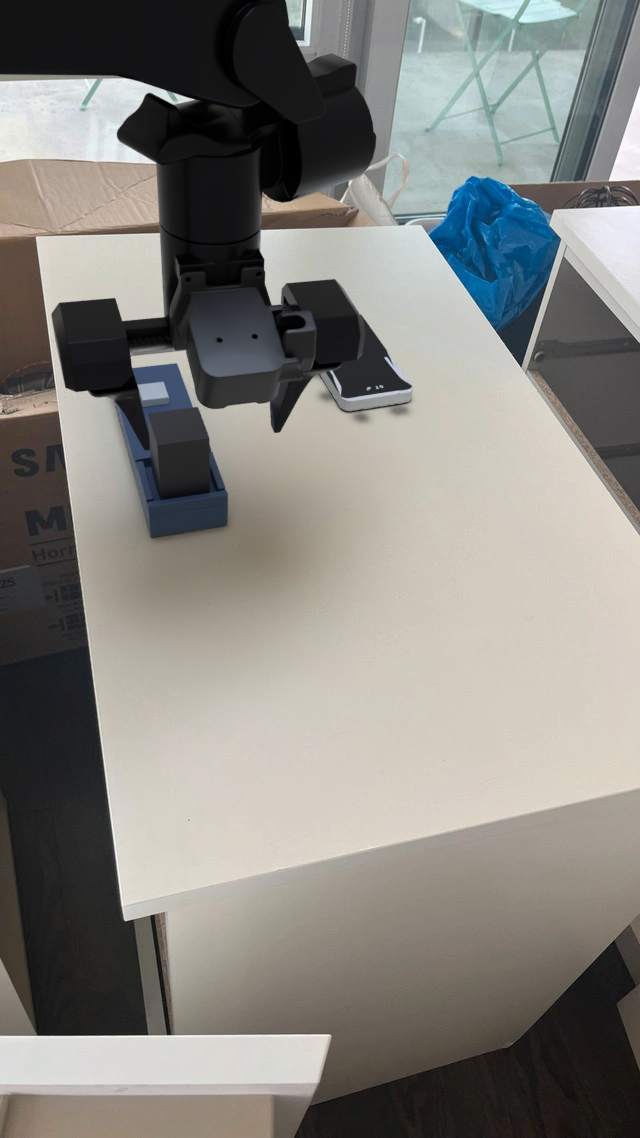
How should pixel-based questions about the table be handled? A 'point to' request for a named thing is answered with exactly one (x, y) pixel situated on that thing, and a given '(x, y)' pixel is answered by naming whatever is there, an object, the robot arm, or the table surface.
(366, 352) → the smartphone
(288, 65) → the robot arm
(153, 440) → the block
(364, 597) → the table surface
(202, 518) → the blue long open box
